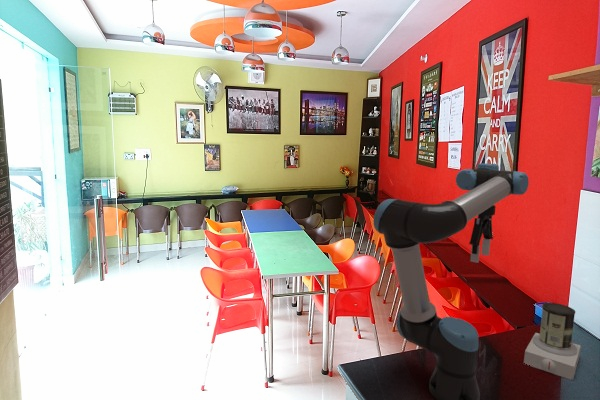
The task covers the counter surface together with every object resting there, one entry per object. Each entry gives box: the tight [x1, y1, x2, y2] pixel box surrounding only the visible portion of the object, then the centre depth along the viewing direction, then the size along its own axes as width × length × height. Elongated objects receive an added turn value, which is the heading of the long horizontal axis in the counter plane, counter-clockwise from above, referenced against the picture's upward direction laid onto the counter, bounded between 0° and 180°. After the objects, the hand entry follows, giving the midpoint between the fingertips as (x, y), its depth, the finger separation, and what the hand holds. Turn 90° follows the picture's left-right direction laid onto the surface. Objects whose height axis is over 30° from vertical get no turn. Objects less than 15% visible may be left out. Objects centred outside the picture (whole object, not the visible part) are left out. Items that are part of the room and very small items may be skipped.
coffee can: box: [539, 302, 576, 350], centre depth 144 cm, size 10×10×14 cm
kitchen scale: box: [523, 332, 581, 381], centre depth 143 cm, size 15×21×6 cm
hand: (479, 258), depth 147 cm, fingers open, 13 cm apart
